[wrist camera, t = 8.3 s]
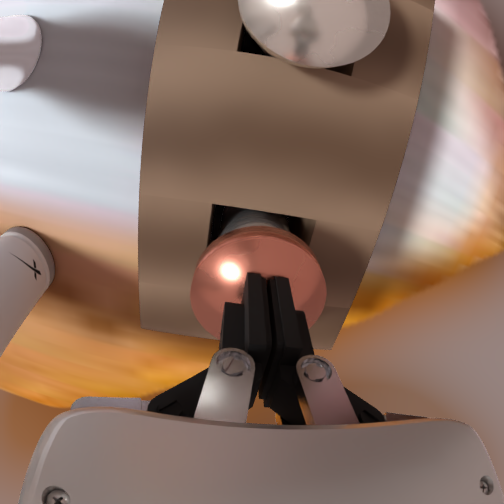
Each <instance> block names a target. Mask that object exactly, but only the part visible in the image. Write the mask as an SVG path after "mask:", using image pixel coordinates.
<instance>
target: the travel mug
mask: <svg viewBox="0 0 504 504" xmlns="http://www.w3.org/2000/svg"><path fill="white" fill-rule="evenodd" d="M54 274H55V266H54V261H53V258H52V255H51V252H50V251H49V249H48V247H47V245H46V244H45V243H44V241H43V240H42V239H41V238H40V237H39V236H38V235H37V234H35V233H34V232H33V231H31V230H29V229H27V228H24V227H12V228H10V229H8V230H7V231H6V232H5V233H4V234H2V235H1V236H0V357H1V355H2V353H3V352H4V350H5V349H6V347H7V345H8V344H9V342H10V341H11V339H12V338H13V336H14V335H15V333H16V332H17V330H18V329H19V327H20V326H21V324H22V323H23V321H24V320H25V318H26V317H27V316H28V314H29V313H30V311H31V310H32V309H33V307H34V306H35V304H36V303H37V302H38V300H39V299H40V298H41V296H42V295H43V293H44V292H45V291H46V289H47V288H48V287H49V285H50V284H51V283H52V281H53V279H54Z"/></svg>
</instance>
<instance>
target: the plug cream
mask: <svg viewBox="0 0 504 504" xmlns="http://www.w3.org/2000/svg"><path fill="white" fill-rule="evenodd" d="M238 6H239V12H240V16H241V19H242V22H243V24H244V26H245V28H246V30H247V32H248V33H249V34H250V36H251V37H252V38H253V40H254V41H255V42H256V43H257V44H258V46H259V47H260V49H261V50H262V51H263V52H264V53H265V54H266V55H268V56H269V57H274V58H278V59H279V60H281V61H284V62H286V63H289V64H292V65H295V66H299V67H305V68H315V69H321V68H331V67H336V66H342V65H346V64H350V63H353V62H355V61H358V60H360V59H362V58H364V57H365V56H367V55H368V54H370V53H371V52H372V51H373V50H374V49H375V48H376V47H377V46H378V45H379V44H380V43H381V41H382V40H383V38H384V36H385V34H386V32H387V29H388V26H389V22H390V2H389V0H238Z"/></svg>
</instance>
